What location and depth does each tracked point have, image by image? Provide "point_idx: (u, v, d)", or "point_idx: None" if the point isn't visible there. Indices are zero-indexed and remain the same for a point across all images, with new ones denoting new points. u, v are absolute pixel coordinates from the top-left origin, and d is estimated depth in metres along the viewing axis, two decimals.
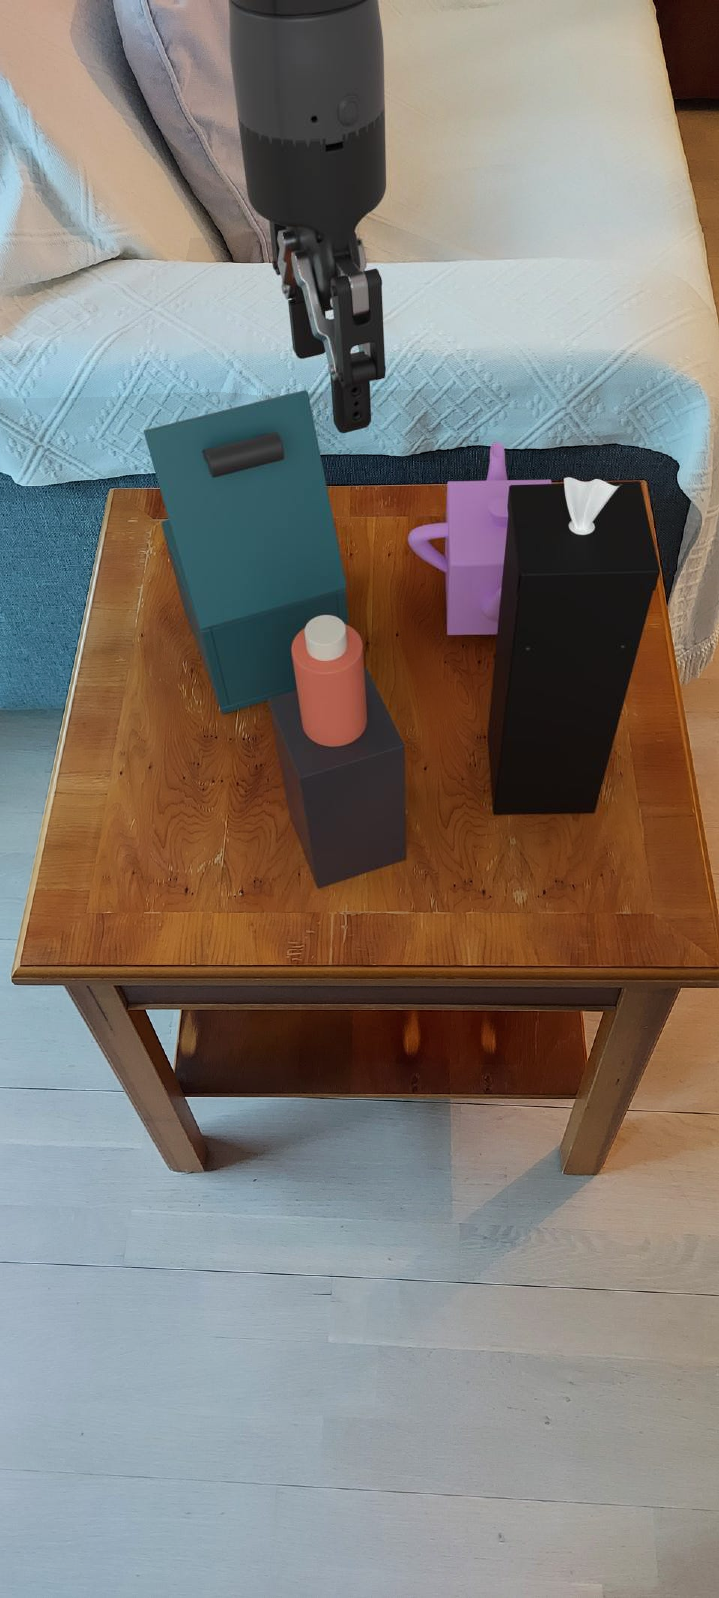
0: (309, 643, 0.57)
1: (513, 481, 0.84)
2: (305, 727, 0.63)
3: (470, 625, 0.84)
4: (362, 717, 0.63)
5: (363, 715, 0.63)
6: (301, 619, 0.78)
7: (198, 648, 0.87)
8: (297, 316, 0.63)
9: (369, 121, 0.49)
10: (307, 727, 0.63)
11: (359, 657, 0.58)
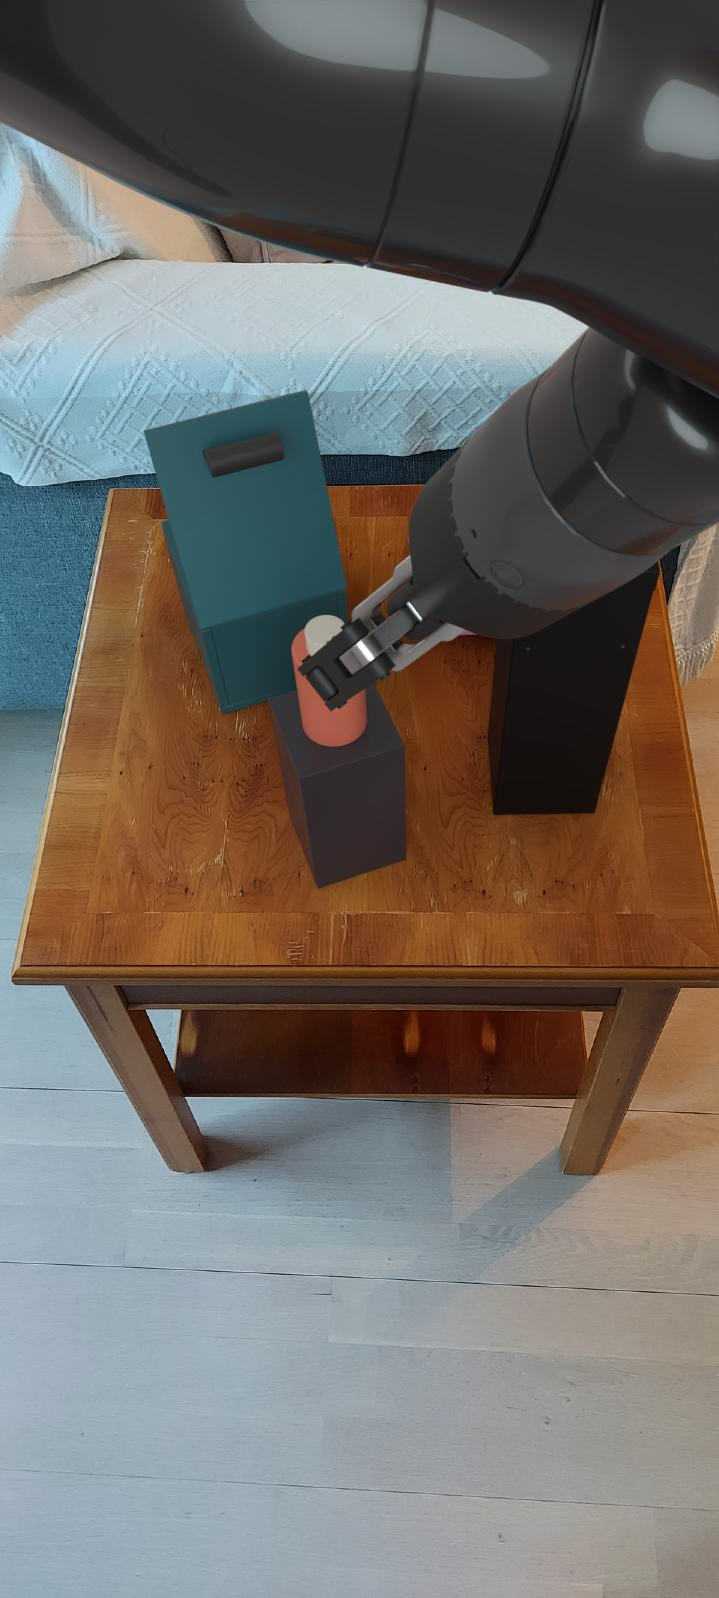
0: (309, 643, 0.57)
1: None
2: (305, 727, 0.63)
3: None
4: (362, 717, 0.63)
5: (363, 715, 0.63)
6: (301, 619, 0.78)
7: (198, 648, 0.87)
8: None
9: (524, 601, 0.36)
10: (307, 727, 0.63)
11: None
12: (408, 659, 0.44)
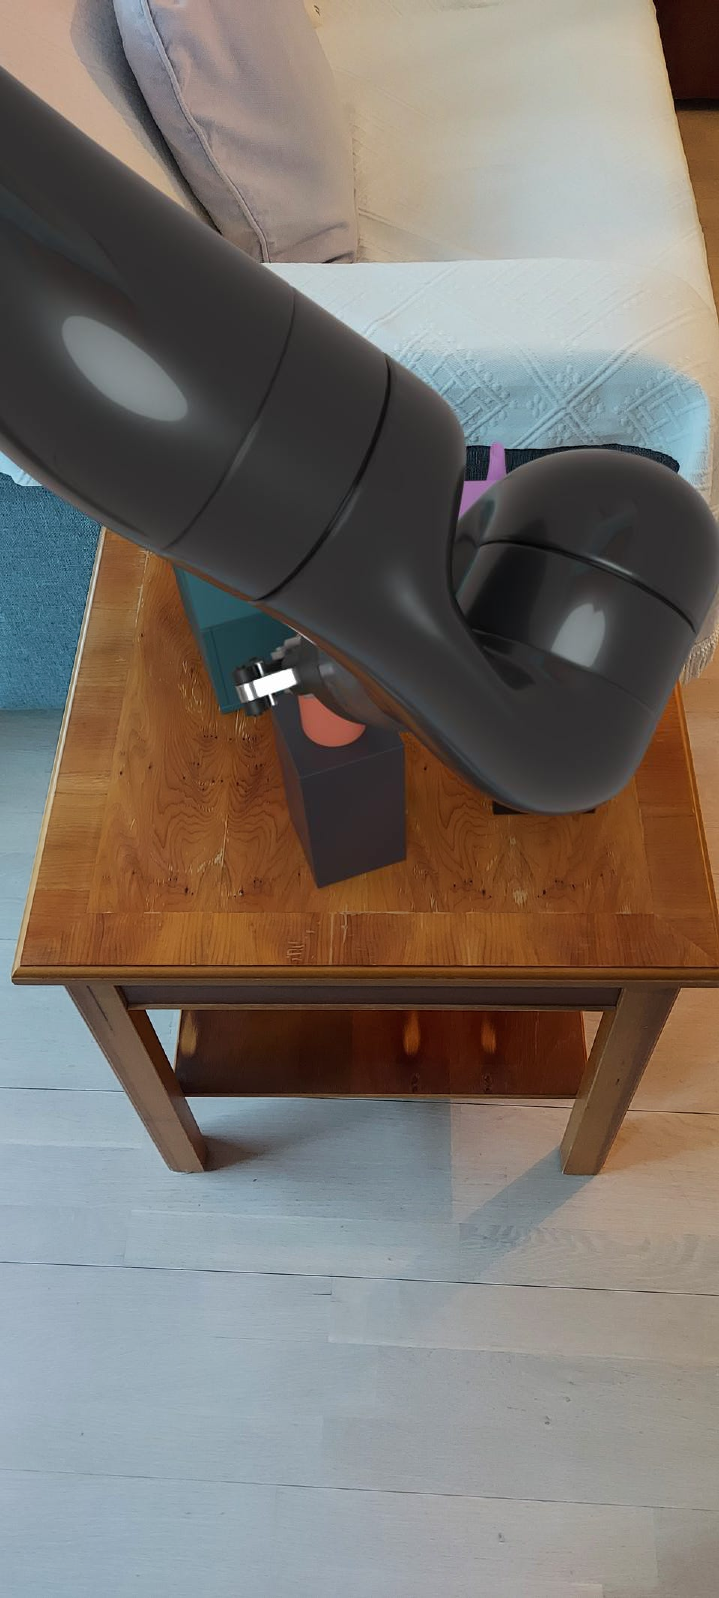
0: None
1: None
2: (305, 727, 0.63)
3: None
4: None
5: None
6: None
7: (198, 648, 0.87)
8: None
9: (351, 714, 0.46)
10: (306, 727, 0.63)
11: None
12: (309, 694, 0.55)
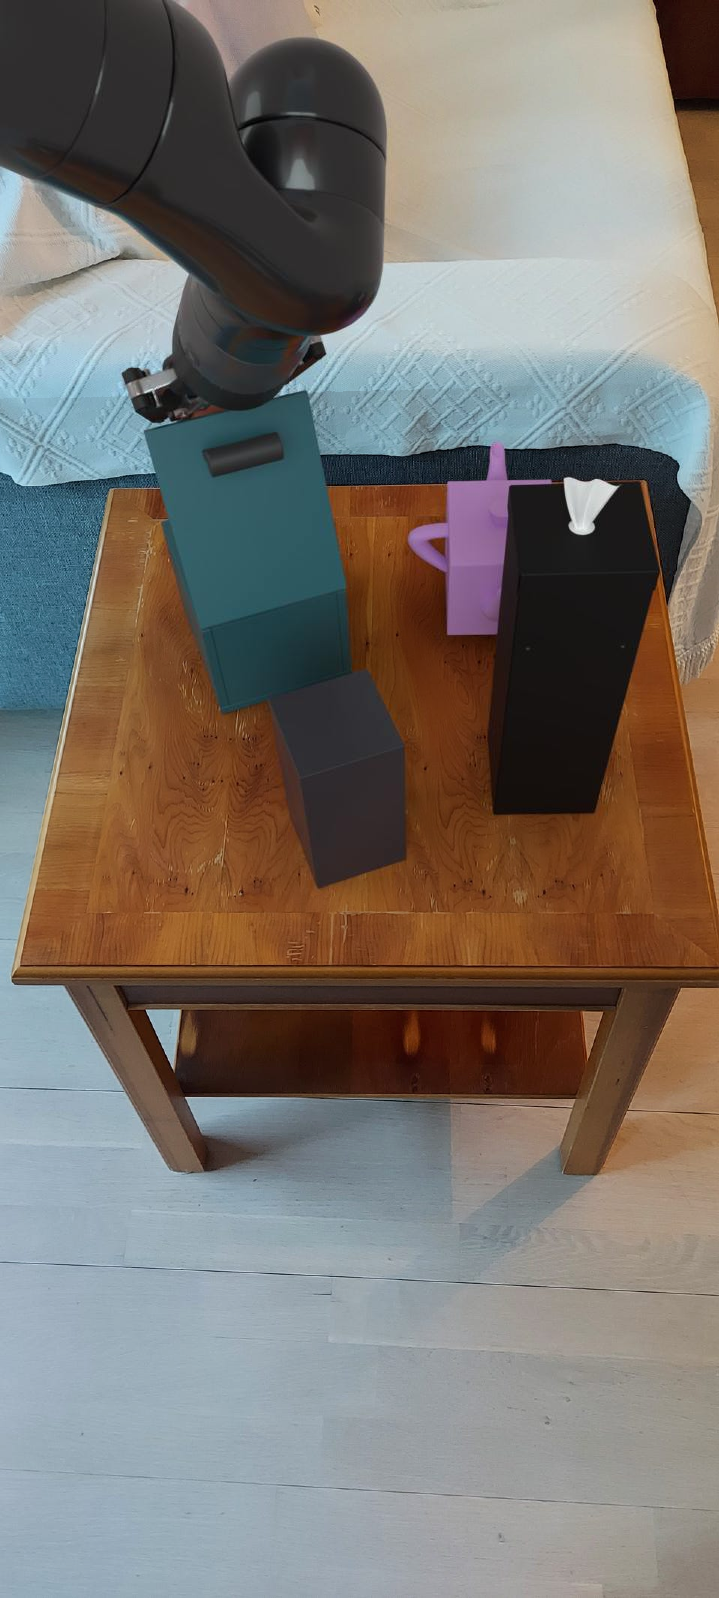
0: None
1: (513, 481, 0.84)
2: None
3: (470, 625, 0.84)
4: None
5: None
6: (301, 619, 0.78)
7: (198, 648, 0.87)
8: None
9: (205, 377, 0.58)
10: None
11: None
12: (192, 407, 0.67)
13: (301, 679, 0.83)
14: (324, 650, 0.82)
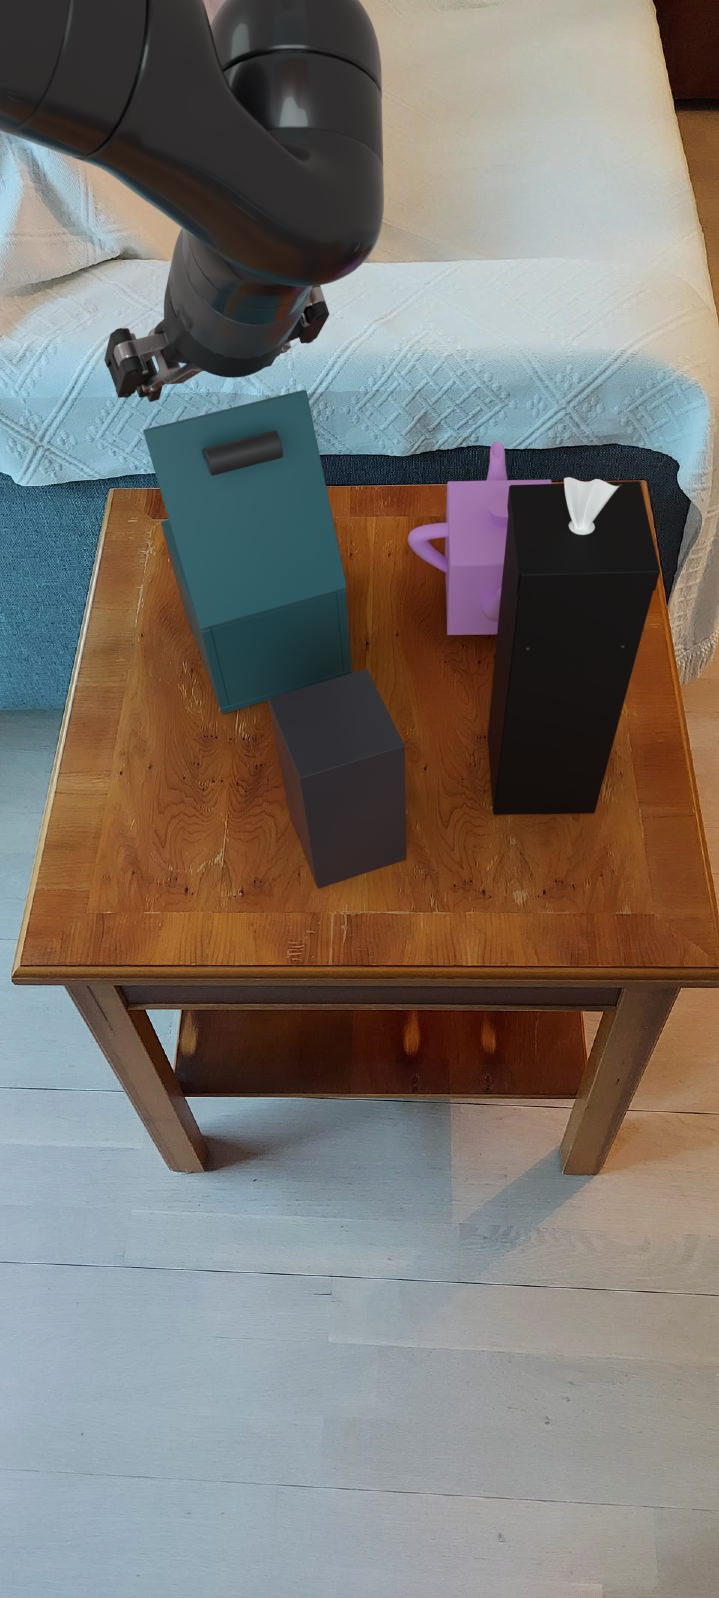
0: None
1: (513, 481, 0.84)
2: None
3: (470, 625, 0.84)
4: None
5: None
6: (301, 619, 0.78)
7: (198, 648, 0.87)
8: None
9: (198, 340, 0.56)
10: None
11: None
12: (173, 377, 0.65)
13: (301, 679, 0.83)
14: (324, 650, 0.82)
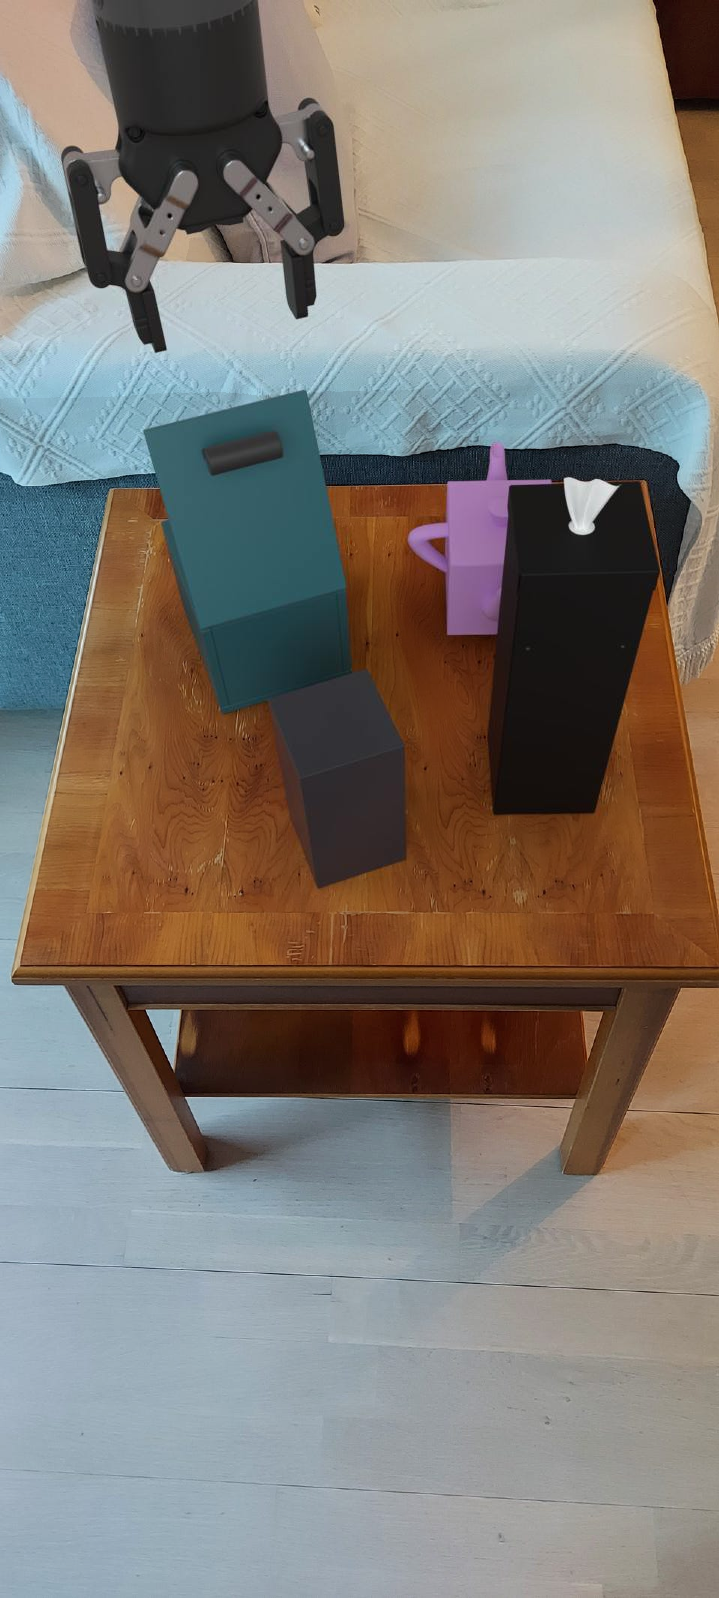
0: None
1: (513, 481, 0.84)
2: None
3: (470, 625, 0.84)
4: None
5: None
6: (301, 619, 0.78)
7: (198, 648, 0.87)
8: (283, 257, 0.57)
9: (116, 21, 0.44)
10: None
11: None
12: (148, 229, 0.52)
13: (301, 679, 0.83)
14: (324, 650, 0.82)
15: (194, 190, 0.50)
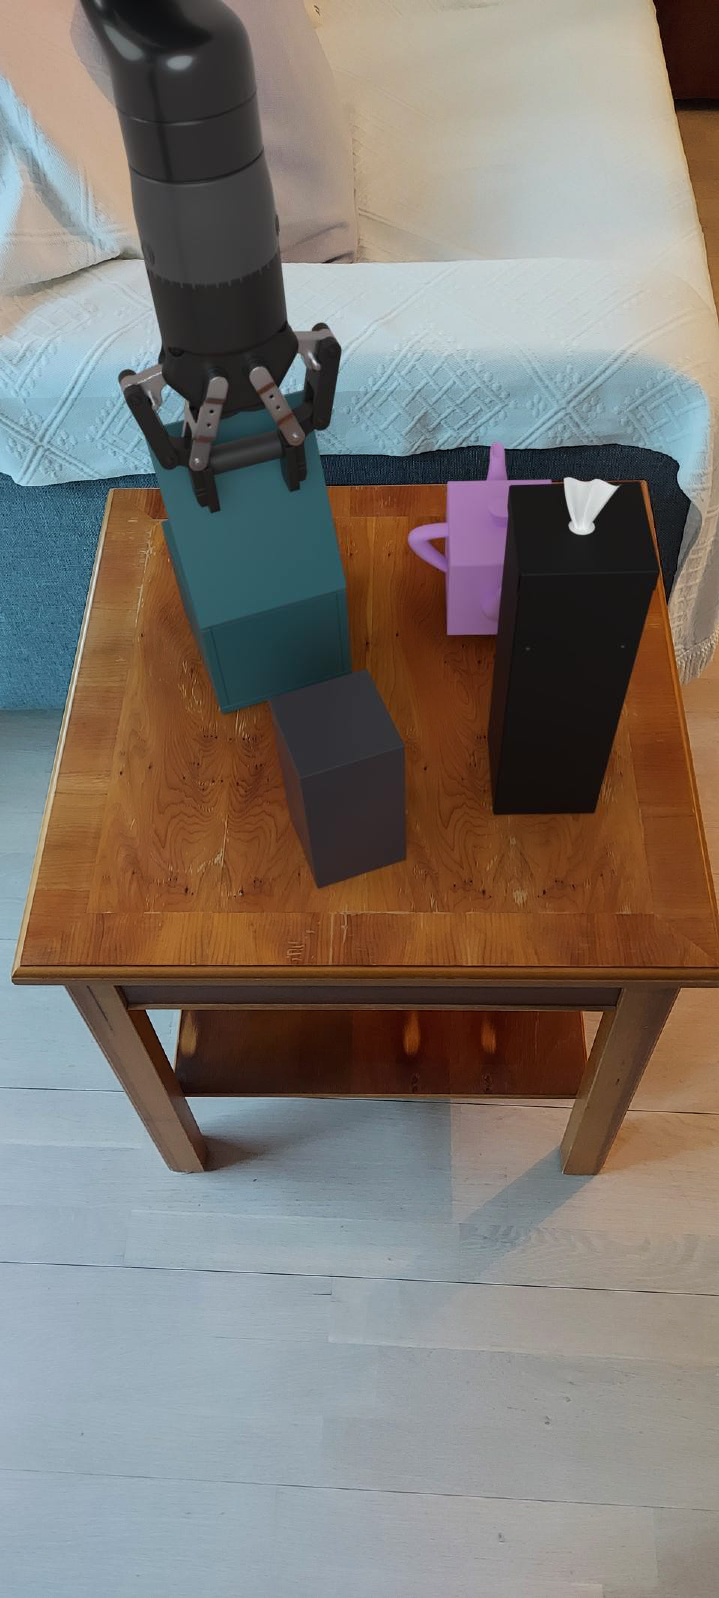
0: None
1: (513, 481, 0.84)
2: None
3: (470, 625, 0.84)
4: None
5: None
6: (301, 619, 0.78)
7: (198, 648, 0.87)
8: None
9: (164, 276, 0.53)
10: None
11: None
12: (198, 425, 0.62)
13: (301, 679, 0.83)
14: (324, 650, 0.82)
15: (226, 388, 0.60)
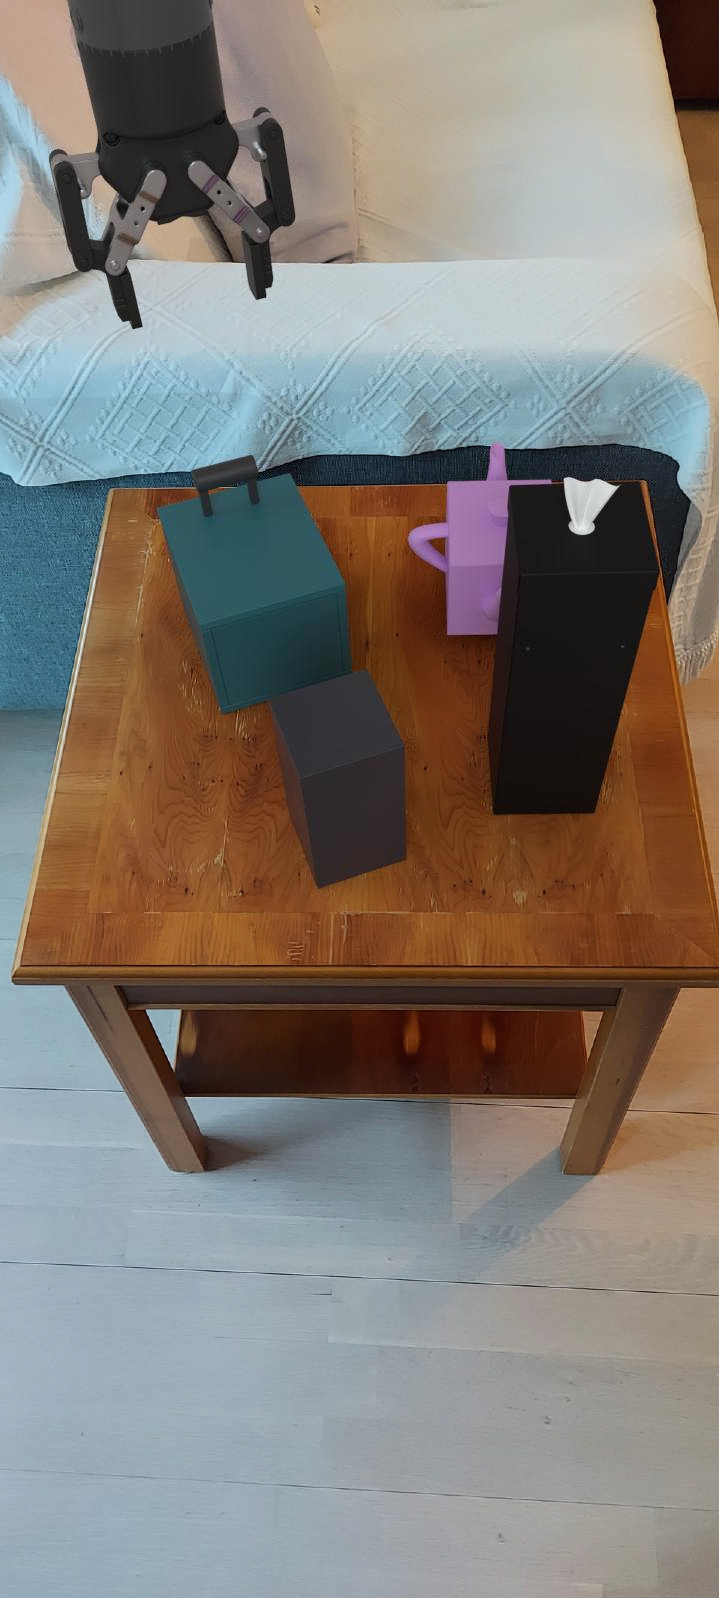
0: None
1: (513, 481, 0.84)
2: None
3: (470, 625, 0.84)
4: None
5: None
6: (301, 619, 0.78)
7: (198, 648, 0.87)
8: (243, 245, 0.66)
9: (94, 44, 0.52)
10: None
11: None
12: (124, 220, 0.60)
13: (301, 679, 0.83)
14: (324, 650, 0.82)
15: (163, 186, 0.59)
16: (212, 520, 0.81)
